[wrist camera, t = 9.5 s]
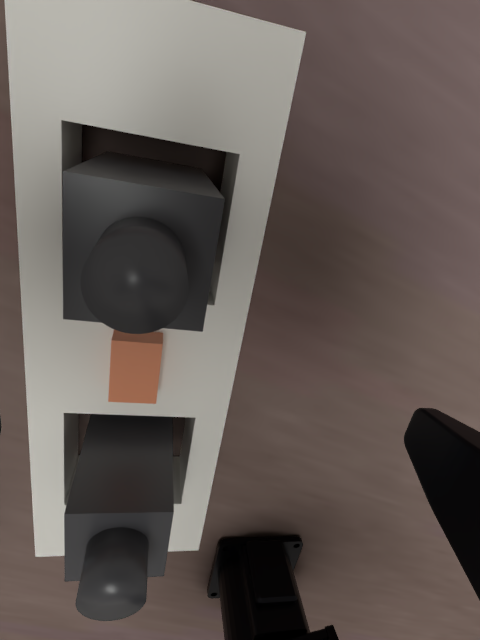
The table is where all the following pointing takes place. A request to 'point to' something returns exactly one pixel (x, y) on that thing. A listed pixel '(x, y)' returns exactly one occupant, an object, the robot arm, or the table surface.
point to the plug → (138, 243)
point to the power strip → (47, 219)
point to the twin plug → (119, 513)
